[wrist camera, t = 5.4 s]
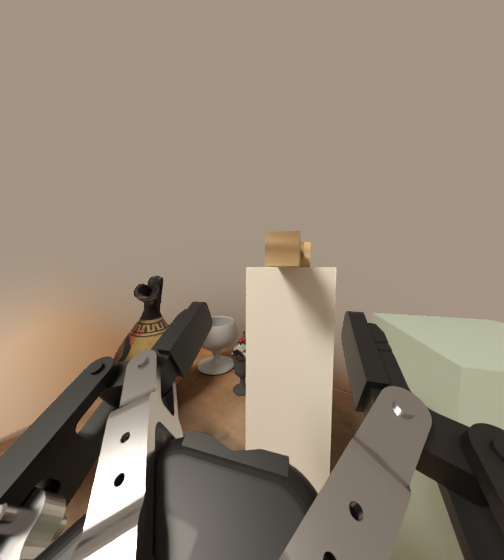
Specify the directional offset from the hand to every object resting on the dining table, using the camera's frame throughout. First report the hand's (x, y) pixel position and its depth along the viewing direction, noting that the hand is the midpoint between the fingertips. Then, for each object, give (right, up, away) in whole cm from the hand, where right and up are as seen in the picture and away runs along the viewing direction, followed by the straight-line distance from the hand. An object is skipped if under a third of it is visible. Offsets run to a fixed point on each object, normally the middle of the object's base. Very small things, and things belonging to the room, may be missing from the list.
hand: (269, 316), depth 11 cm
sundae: (-4, -27, +38) cm, 46 cm away
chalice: (-13, -26, +50) cm, 58 cm away
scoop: (+4, +4, +16) cm, 17 cm away
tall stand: (+6, -28, +23) cm, 36 cm away
